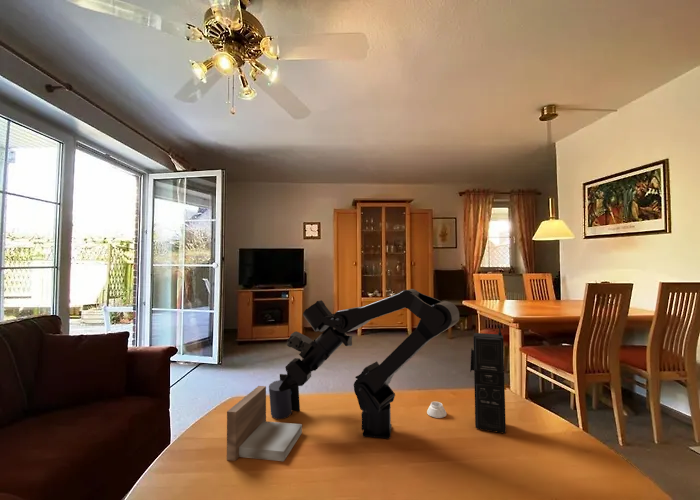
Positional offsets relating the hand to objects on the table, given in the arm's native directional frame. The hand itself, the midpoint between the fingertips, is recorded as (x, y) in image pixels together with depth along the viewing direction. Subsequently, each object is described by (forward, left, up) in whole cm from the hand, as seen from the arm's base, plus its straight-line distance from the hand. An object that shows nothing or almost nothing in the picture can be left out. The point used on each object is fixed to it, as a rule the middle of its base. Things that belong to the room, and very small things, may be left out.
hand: (286, 383), depth 92 cm
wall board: (-2, +15, -8) cm, 17 cm away
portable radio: (-52, -2, -8) cm, 53 cm away
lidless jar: (-40, -7, -9) cm, 42 cm away
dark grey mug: (+1, 0, -8) cm, 9 cm away
